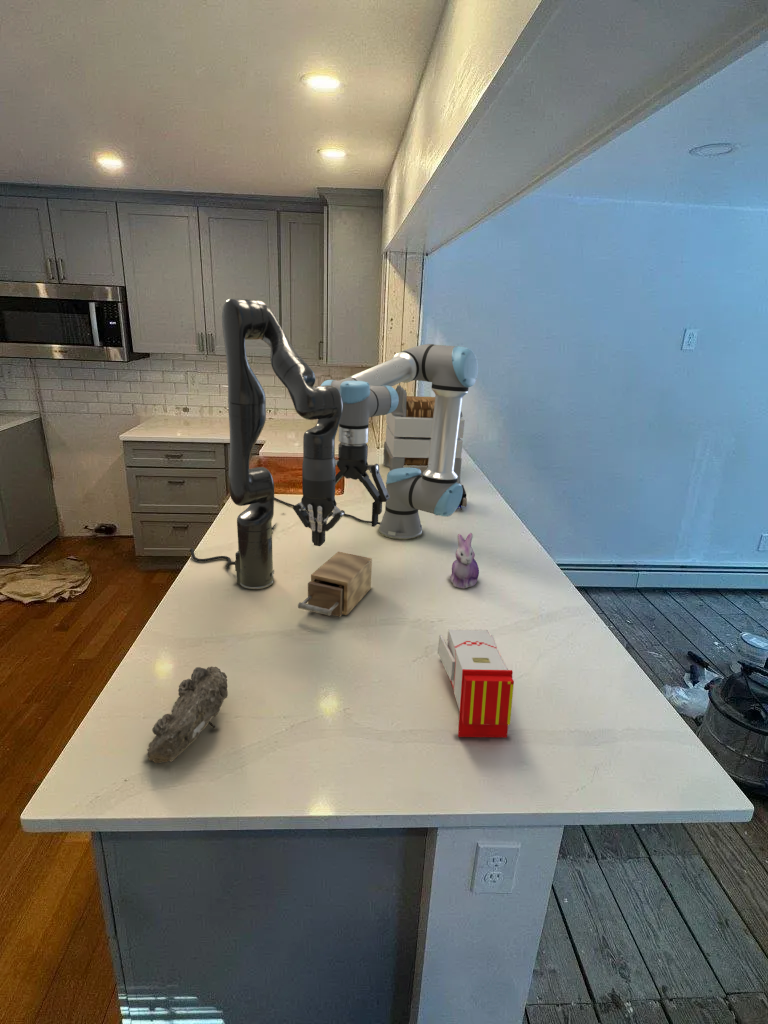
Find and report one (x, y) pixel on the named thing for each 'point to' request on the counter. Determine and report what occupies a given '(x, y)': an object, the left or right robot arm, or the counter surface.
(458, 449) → the grey slatted crate
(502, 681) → the toy
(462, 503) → the figurine character
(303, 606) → the drawer
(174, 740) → the fossil
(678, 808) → the counter surface
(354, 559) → the cabinet
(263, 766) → the counter surface
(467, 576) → the figurine
